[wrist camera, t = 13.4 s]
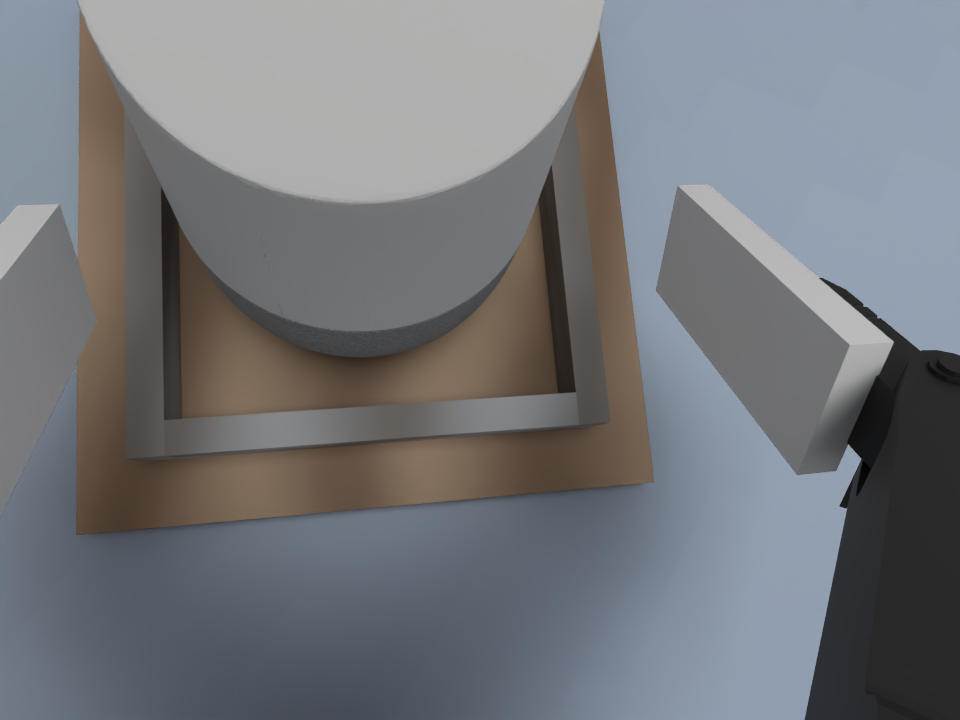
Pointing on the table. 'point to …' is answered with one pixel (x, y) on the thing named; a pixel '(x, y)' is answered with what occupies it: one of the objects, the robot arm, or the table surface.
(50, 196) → the table surface
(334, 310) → the smart speaker
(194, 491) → the walnut stand
